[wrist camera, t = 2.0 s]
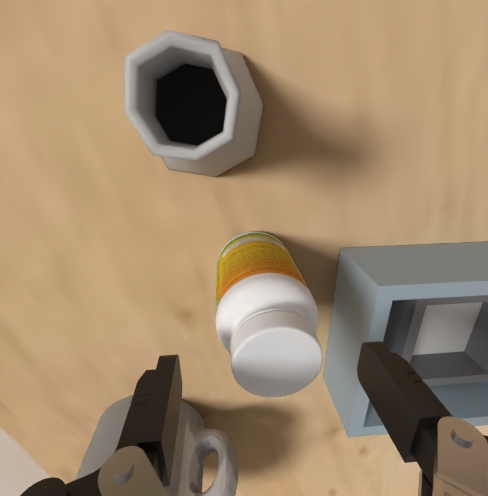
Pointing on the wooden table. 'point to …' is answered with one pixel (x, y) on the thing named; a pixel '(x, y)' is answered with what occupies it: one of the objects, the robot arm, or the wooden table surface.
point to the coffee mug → (185, 454)
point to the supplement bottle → (266, 316)
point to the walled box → (412, 325)
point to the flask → (193, 103)
